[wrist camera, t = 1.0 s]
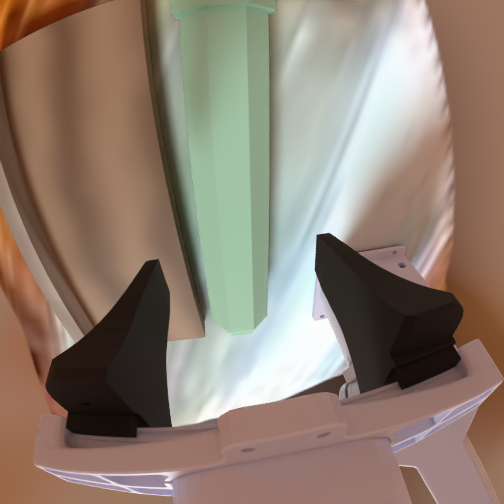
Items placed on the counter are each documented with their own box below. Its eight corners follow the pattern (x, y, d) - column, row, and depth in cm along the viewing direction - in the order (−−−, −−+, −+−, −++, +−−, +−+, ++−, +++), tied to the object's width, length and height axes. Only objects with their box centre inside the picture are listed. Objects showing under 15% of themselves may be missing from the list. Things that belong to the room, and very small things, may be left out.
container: (264, 354, 24) (265, -16, 9) (197, 340, 25) (147, 2, 10) (277, 304, 28) (284, 6, 13) (219, 294, 29) (195, 13, 15)
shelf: (145, -1, 12) (132, -15, 9) (204, 321, 29) (206, 353, 26) (-2, 59, 11) (-34, 65, 8) (96, 332, 28) (89, 362, 25)
